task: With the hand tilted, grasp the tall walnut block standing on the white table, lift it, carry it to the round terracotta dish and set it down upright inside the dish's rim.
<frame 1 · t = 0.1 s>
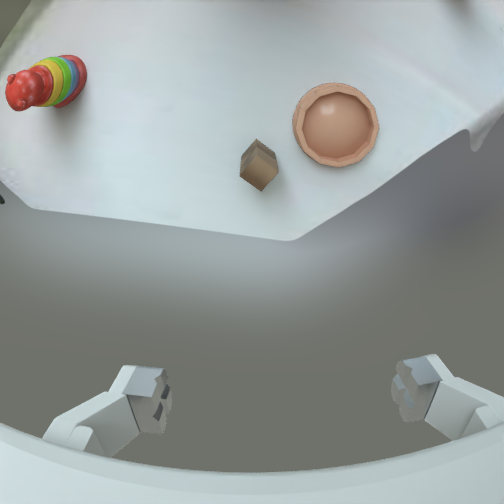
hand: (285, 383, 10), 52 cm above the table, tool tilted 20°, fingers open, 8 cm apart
stacking bear: (67, 77, 47), on the table
dish: (335, 124, 54), on the table
walnut block: (258, 154, 58), on the table
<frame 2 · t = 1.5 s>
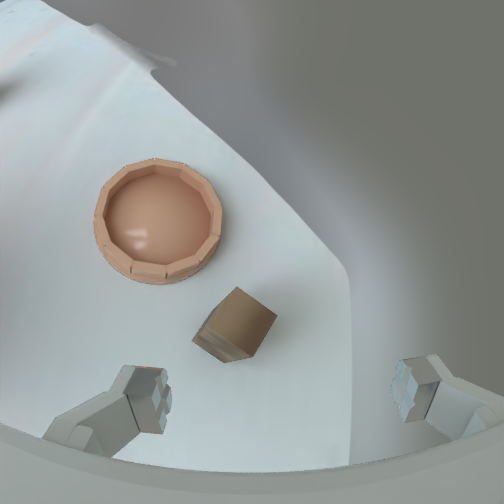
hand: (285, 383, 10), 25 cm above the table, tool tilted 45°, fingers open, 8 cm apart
dish: (157, 221, 38), on the table
walnut block: (218, 336, 35), on the table
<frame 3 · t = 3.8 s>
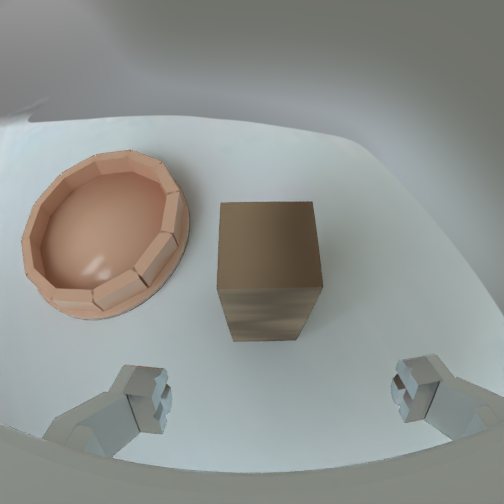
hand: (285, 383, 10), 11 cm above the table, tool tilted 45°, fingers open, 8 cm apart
dish: (103, 233, 26), on the table
walnut block: (264, 311, 23), on the table
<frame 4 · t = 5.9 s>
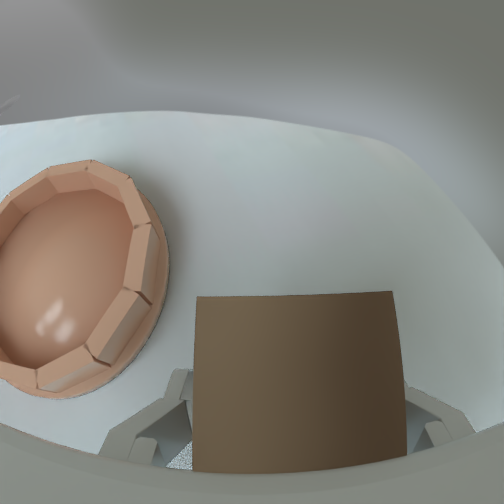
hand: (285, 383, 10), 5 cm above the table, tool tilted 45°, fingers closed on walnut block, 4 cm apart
dish: (58, 276, 18), on the table
walnut block: (277, 403, 15), on the table, touching gripper
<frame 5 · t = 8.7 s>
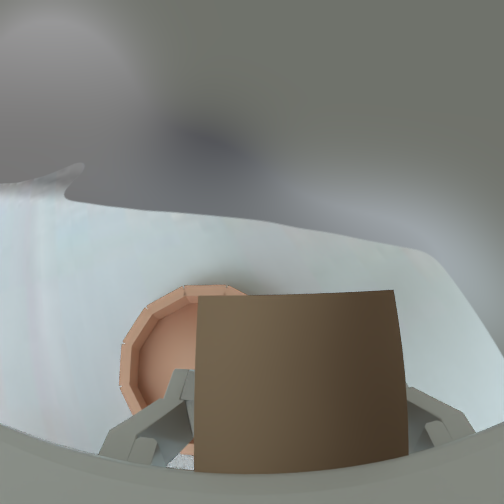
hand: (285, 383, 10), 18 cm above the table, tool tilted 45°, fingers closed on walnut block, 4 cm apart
dish: (208, 372, 27), on the table
walnut block: (278, 403, 15), point 13 cm above the table, touching gripper
when the fingers open (7 cm above the table, at t = 11.7 s): walnut block drops 1 cm, resting on dish.
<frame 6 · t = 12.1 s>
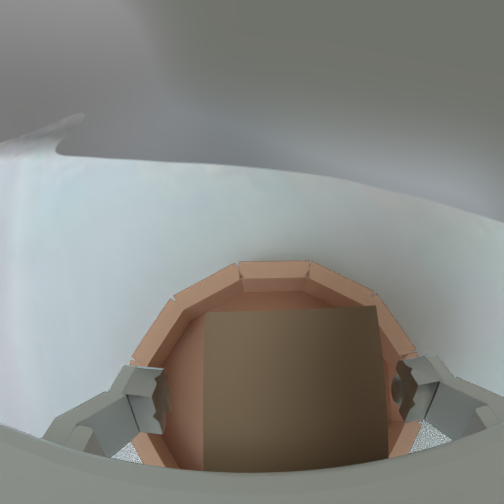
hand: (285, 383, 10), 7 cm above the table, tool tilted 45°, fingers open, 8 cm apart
dish: (275, 403, 16), on the table
walnut block: (276, 403, 16), point 1 cm above the table, touching dish
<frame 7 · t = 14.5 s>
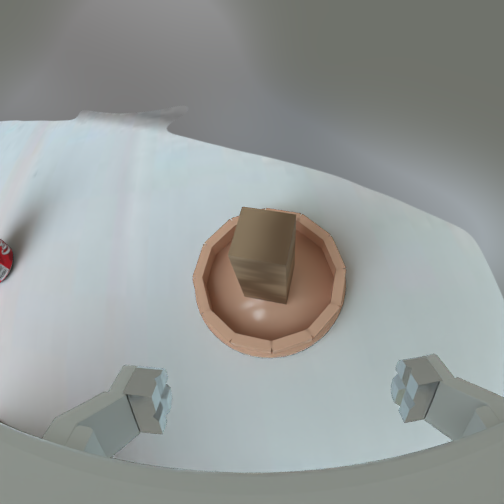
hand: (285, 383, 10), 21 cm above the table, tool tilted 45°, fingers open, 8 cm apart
dish: (270, 283, 34), on the table
walnut block: (269, 280, 33), point 1 cm above the table, touching dish
soda can: (3, 267, 40), on the table
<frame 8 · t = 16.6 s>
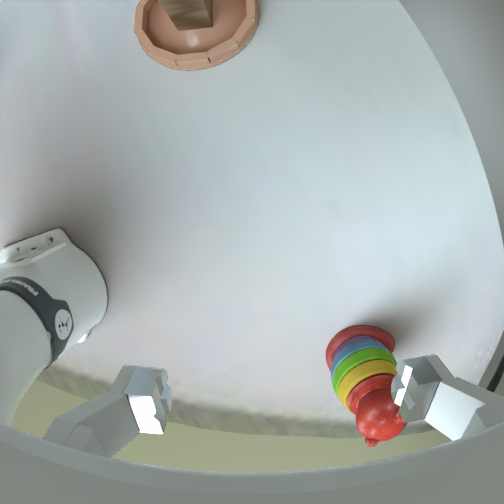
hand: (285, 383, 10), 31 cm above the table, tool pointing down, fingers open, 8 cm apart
stacking bear: (354, 350, 46), on the table
dish: (196, 17, 32), on the table
walnut block: (195, 15, 31), point 1 cm above the table, touching dish
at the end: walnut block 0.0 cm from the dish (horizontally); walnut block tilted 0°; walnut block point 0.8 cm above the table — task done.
